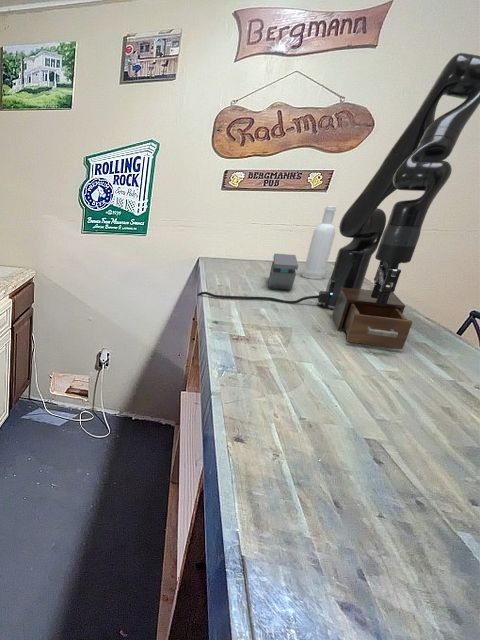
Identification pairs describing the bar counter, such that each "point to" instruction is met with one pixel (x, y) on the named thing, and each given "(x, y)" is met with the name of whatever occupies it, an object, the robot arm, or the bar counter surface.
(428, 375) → the bar counter surface
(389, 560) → the bar counter surface
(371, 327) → the drawer
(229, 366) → the bar counter surface
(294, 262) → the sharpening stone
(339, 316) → the cabinet
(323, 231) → the bottle
